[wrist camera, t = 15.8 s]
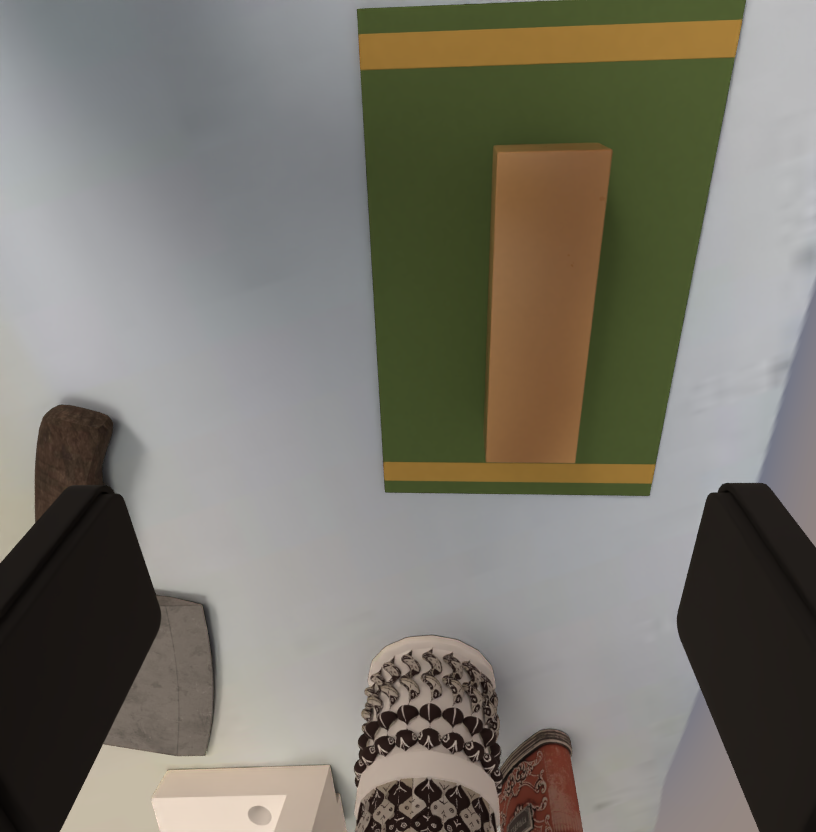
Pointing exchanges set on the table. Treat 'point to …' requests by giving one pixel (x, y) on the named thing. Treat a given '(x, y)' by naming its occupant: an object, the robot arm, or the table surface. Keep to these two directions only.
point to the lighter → (540, 786)
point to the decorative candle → (429, 740)
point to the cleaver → (180, 620)
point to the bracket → (249, 800)
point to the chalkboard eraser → (541, 296)
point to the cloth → (471, 215)
